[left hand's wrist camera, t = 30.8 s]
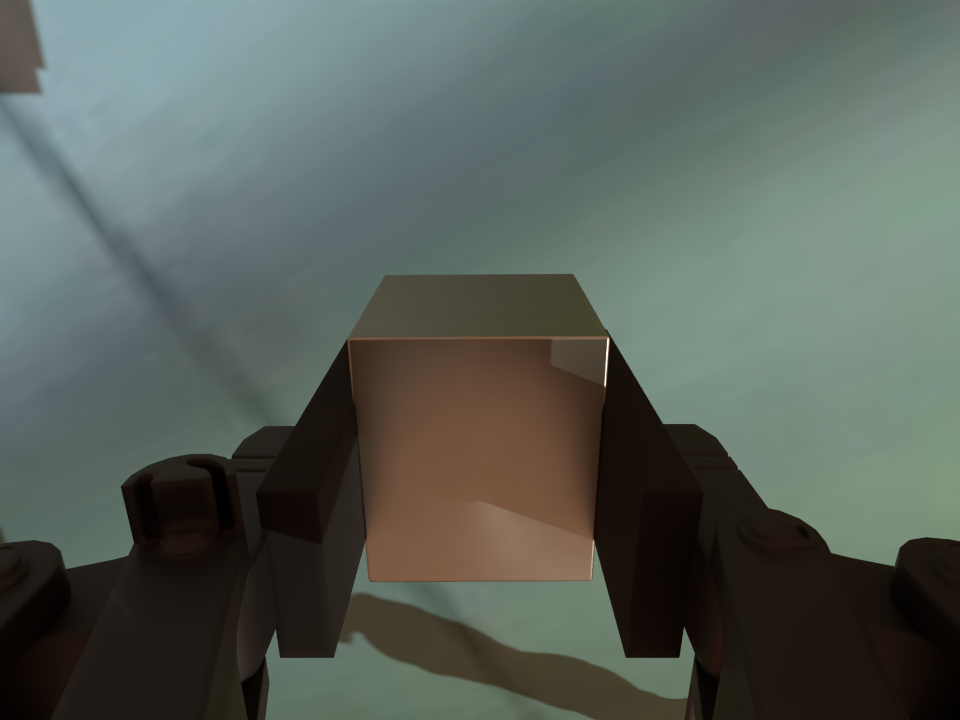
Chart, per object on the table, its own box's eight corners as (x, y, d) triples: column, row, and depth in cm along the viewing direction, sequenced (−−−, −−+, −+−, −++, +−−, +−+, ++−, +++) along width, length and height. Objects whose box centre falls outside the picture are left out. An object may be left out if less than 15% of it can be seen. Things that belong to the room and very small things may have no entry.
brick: (565, 465, 15) (592, 582, 12) (396, 466, 15) (368, 583, 12) (574, 273, 14) (610, 336, 10) (384, 274, 14) (346, 337, 10)
